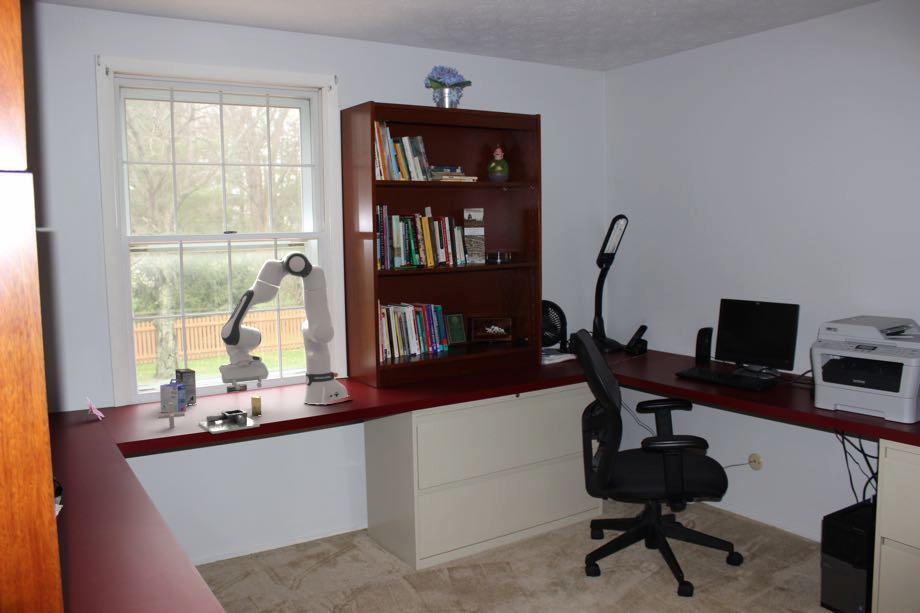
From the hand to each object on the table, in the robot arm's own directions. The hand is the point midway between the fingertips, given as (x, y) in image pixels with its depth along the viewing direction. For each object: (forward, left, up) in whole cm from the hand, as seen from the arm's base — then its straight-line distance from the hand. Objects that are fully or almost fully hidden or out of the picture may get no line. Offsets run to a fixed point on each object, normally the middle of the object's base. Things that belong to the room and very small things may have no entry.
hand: (249, 387), depth 325 cm
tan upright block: (0, +8, -11) cm, 13 cm away
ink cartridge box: (+27, -22, -11) cm, 37 cm away
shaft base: (+15, +18, -11) cm, 26 cm away
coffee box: (+18, -35, -11) cm, 41 cm away
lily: (+58, -26, -11) cm, 65 cm away
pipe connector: (+35, +7, -11) cm, 37 cm away
